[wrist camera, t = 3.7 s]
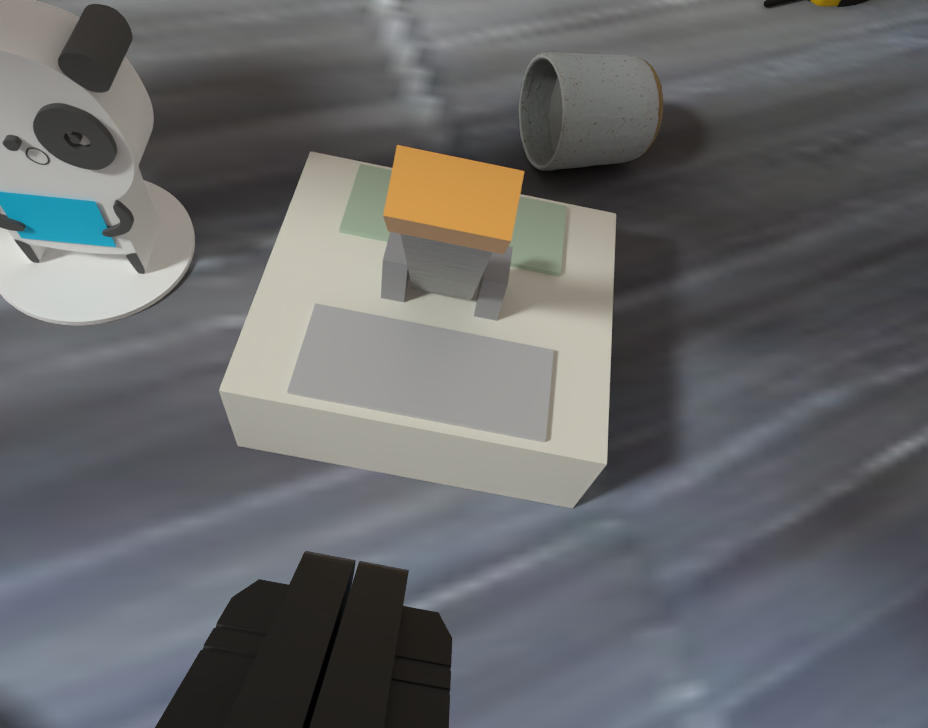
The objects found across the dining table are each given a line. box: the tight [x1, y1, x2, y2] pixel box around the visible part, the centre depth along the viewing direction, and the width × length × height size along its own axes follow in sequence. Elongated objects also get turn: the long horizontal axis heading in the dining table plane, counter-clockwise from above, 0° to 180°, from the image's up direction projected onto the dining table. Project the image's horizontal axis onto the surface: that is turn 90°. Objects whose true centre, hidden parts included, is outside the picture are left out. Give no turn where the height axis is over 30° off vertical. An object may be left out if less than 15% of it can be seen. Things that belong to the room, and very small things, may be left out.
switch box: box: [219, 151, 616, 508], centre depth 37 cm, size 16×18×9 cm
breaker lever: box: [383, 145, 525, 300], centre depth 28 cm, size 2×4×17 cm, turn 81°
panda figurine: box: [0, 0, 195, 325], centre depth 36 cm, size 12×11×15 cm
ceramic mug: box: [519, 52, 663, 171], centre depth 50 cm, size 11×8×8 cm
